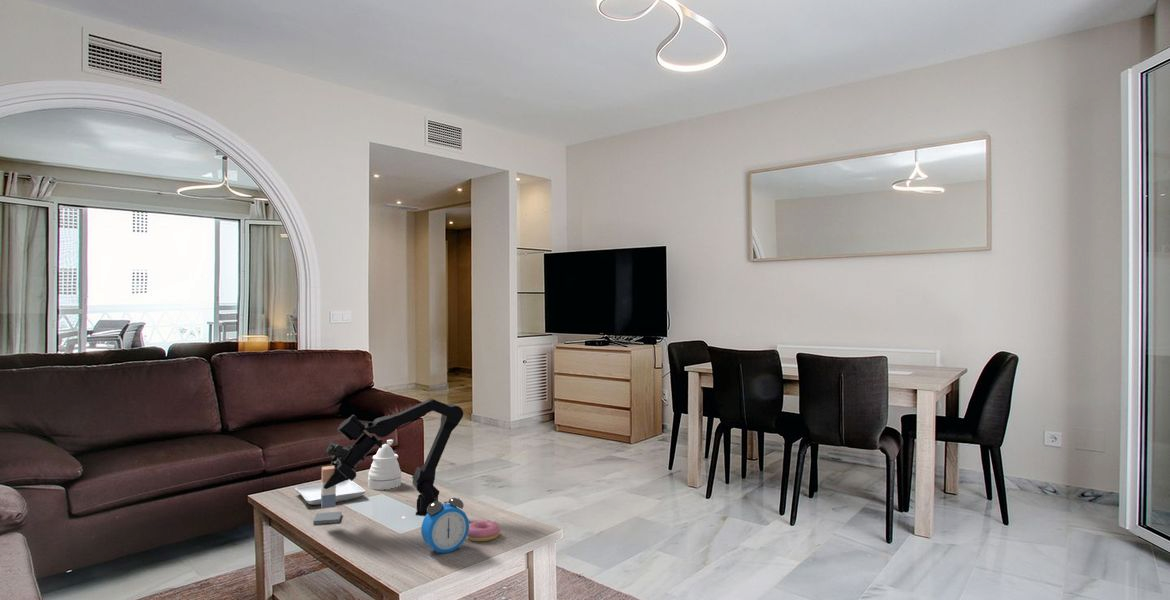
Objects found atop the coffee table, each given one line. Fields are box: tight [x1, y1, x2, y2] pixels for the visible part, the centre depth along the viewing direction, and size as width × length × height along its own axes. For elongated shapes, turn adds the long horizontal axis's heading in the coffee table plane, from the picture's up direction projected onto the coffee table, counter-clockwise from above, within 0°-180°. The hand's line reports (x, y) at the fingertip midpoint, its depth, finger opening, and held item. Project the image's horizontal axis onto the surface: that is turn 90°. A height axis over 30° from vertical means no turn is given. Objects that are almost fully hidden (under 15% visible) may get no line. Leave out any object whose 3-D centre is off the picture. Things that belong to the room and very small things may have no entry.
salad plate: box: [294, 479, 367, 506], centre depth 238 cm, size 21×21×3 cm
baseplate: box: [312, 511, 343, 525], centre depth 212 cm, size 8×8×1 cm
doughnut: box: [466, 520, 501, 542], centre depth 199 cm, size 11×11×4 cm
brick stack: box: [320, 465, 337, 509], centre depth 205 cm, size 4×4×13 cm
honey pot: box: [367, 439, 402, 491], centre depth 254 cm, size 13×13×18 cm
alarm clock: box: [420, 497, 470, 556], centre depth 187 cm, size 13×6×15 cm, turn 128°
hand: (324, 486), depth 205 cm, fingers closed on brick stack, 4 cm apart
